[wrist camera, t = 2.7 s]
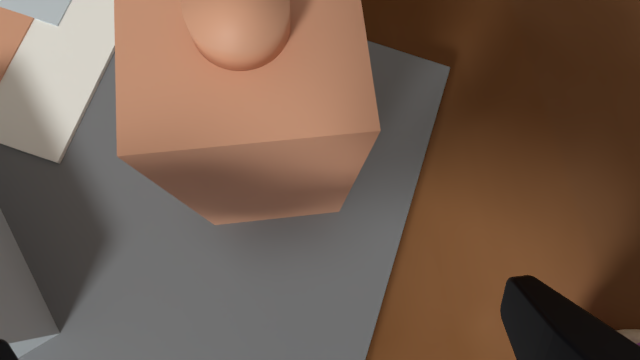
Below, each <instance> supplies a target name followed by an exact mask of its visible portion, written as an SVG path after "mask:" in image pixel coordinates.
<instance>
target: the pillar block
mask: <svg viewBox="0 0 640 360" xmlns="http://www.w3.org/2000/svg"><path fill="white" fill-rule="evenodd" d="M114 30H115V84H116V139H117V157H118V158H120V159H121V160H123V161H124V162H126V163H127V164H128V165H130V166H131V167H133V168H134V169H136V170H137V171H138V172H140V173H141V174H143V175H144V176H145V177H147V178H148V179H150V180H151V181H153V182H154V183H155V184H157V185H158V186H160V187H161V188H163V189H164V190H165V191H167V192H168V193H170V194H171V195H173V196H174V197H175V198H177V199H178V200H180V201H181V202H182V203H184V204H185V205H187V206H188V207H190V208H191V209H192V210H194V211H195V212H197V213H198V214H200V215H201V216H202V217H204V218H205V219H207V220H208V221H210V222H211V223H212V224H214V225H221V224H231V223H240V222H249V221H258V220H268V219H277V218H286V217H295V216H305V215H314V214H323V213H333V212H339V211H340V209H341V207H342V205H343V203H344V201H345V199H346V197H347V195H348V194H349V192H350V190H351V188H352V186H353V184H354V182H355V180H356V178H357V176H358V174H359V172H360V170H361V168H362V166H363V164H364V162H365V160H366V158H367V157H368V155H369V153H370V151H371V149H372V147H373V145H374V143H375V141H376V139H377V137H378V135H379V133H380V131H381V129H380V123H379V116H378V109H377V103H376V96H375V90H374V83H373V76H372V70H371V63H370V57H369V50H368V43H367V37H366V30H365V23H364V17H363V10H362V4H361V0H114Z"/></svg>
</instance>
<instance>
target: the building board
mask: <svg viewBox="0 0 640 360" xmlns="http://www.w3.org/2000/svg"><path fill="white" fill-rule="evenodd" d="M367 43H368V50H369V57H370V63H371V70H372V76H373V83H374V90H375V96H376V103H377V109H378V116H379V123H380V129H381V131H380V133H379V135H378V137H377V139H376V141H375V143H374V145H373V147H372V149H371V151H370V153H369V155H368V157H367V158H366V160H365V162H364V164H363V166H362V168H361V170H360V172H359V174H358V176H357V178H356V180H355V182H354V184H353V186H352V188H351V190H350V192H349V194H348V195H347V197H346V199H345V201H344V203H343V205H342V207H341V209H340V211H339V212H333V213H323V214H314V215H305V216H295V217H286V218H277V219H268V220H258V221H249V222H240V223H231V224H221V225H214V224H212V223H211V222H210V221H208V220H207V219H205V218H204V217H202V216H201V215H200V214H198V213H197V212H195V211H194V210H192V209H191V208H190V207H188V206H187V205H185V204H184V203H182V202H181V201H180V200H178V199H177V198H175V197H174V196H173V195H171V194H170V193H168V192H167V191H165V190H164V189H163V188H161V187H160V186H158V185H157V184H155V183H154V182H153V181H151V180H150V179H148V178H147V177H145V176H144V175H143V174H141V173H140V172H138V171H137V170H136V169H134V168H133V167H131V166H130V165H128V164H127V163H126V162H124V161H123V160H121V159H120V158H118V157H117V139H116V84H115V30H114V0H0V209H1V211H2V213H3V215H4V217H5V219H6V221H7V224H8V226H9V228H10V230H11V232H12V234H13V236H14V238H15V240H16V242H17V245H18V247H19V249H20V251H21V253H22V255H23V257H24V259H25V261H26V263H27V265H28V268H29V270H30V272H31V274H32V276H33V278H34V280H35V282H36V284H37V286H38V288H39V291H40V293H41V295H42V297H43V299H44V301H45V303H46V305H47V307H48V309H49V311H50V314H51V316H52V318H53V320H54V322H55V324H56V326H57V328H58V330H59V332H60V334H58V335H56V336H55V337H53V338H51V339H50V340H48V341H46V342H45V343H43V344H41V345H39V346H38V347H36V348H34V349H33V350H31V351H29V352H28V353H26V354H24V355H23V356H21V357H19V358H18V359H19V360H365V359H366V355H367V352H368V349H369V345H370V342H371V338H372V335H373V331H374V328H375V325H376V321H377V318H378V314H379V311H380V307H381V304H382V301H383V297H384V294H385V290H386V287H387V283H388V280H389V276H390V273H391V270H392V266H393V263H394V259H395V256H396V252H397V249H398V246H399V242H400V239H401V235H402V232H403V228H404V225H405V222H406V218H407V215H408V211H409V208H410V204H411V201H412V198H413V194H414V191H415V187H416V184H417V180H418V177H419V173H420V170H421V167H422V163H423V160H424V156H425V153H426V149H427V146H428V143H429V139H430V136H431V132H432V129H433V125H434V122H435V119H436V115H437V112H438V108H439V105H440V101H441V98H442V95H443V91H444V88H445V84H446V81H447V77H448V74H449V70H450V67H448V66H445V65H442V64H439V63H436V62H432V61H429V60H426V59H423V58H420V57H417V56H414V55H411V54H408V53H405V52H401V51H398V50H395V49H392V48H389V47H386V46H383V45H380V44H377V43H373V42H370V41H367Z"/></svg>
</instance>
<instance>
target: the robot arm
mask: <svg viewBox="0 0 640 360" xmlns="http://www.w3.org/2000/svg"><path fill="white" fill-rule="evenodd" d="M500 312H501V318H502V321H503V324H504V327H505V329H506V332H507V335H508V337H509V340H510V343H511V346H512V348H513V351H514V354H515V356H516V359H517V360H640V346H639V345H637V344H636V343H634V342H633V341H631V340H630V339H628V338H627V337H625V336H624V335H622V334H621V333H619V332H618V331H616V330H614V329H613V328H611V327H610V326H608V325H607V324H605V323H604V322H602V321H601V320H599V319H598V318H596V317H595V316H593V315H592V314H590V313H589V312H587V311H585V310H584V309H582V308H581V307H579V306H578V305H576V304H575V303H573V302H572V301H570V300H569V299H567V298H566V297H564V296H563V295H561V294H560V293H558V292H556V291H555V290H553V289H552V288H550V287H549V286H547V285H546V284H544V283H543V282H541V281H540V280H538V279H537V278H535V277H533V276H530V275H524V276H516V277H511V278H509V279H508V280H507V282H506V286H505V290H504V294H503V299H502V303H501V310H500ZM0 360H19V359H18V358H17V356H16V354H15V353H14V351H13V350H12V348H11V347H10V345H9V343H8V342H7V341H5V340H3V339H0Z"/></svg>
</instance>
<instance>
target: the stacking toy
mask: <svg viewBox="0 0 640 360" xmlns="http://www.w3.org/2000/svg"><path fill="white" fill-rule="evenodd" d="M616 331H618V332H619V333H621V334H622V335H624V336H625V337H627V338H628V339H630V340H631V341H633V342H634V343H636V344H637V345H639V346H640V330H639V329H623V330H616Z"/></svg>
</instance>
